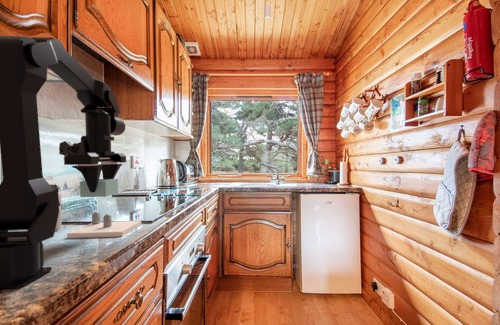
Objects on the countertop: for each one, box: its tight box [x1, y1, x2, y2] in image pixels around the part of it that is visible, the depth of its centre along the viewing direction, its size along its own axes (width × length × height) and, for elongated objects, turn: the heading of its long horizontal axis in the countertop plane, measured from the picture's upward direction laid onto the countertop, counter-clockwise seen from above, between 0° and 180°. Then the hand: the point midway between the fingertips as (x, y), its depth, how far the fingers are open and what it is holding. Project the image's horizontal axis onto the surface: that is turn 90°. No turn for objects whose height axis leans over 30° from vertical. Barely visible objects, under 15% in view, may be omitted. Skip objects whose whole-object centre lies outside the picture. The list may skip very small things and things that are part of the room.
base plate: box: [66, 211, 142, 239], centre depth 69 cm, size 12×14×5 cm
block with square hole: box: [79, 178, 119, 198], centre depth 66 cm, size 6×6×4 cm
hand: (100, 190), depth 66 cm, fingers closed on block with square hole, 6 cm apart
